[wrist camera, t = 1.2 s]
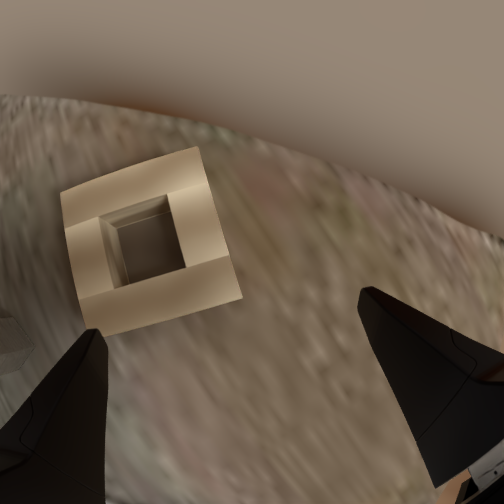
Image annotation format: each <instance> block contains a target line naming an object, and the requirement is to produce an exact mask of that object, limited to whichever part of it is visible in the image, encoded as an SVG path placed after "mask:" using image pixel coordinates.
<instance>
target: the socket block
mask: <svg viewBox="0 0 504 504" xmlns="http://www.w3.org/2000/svg"><path fill="white" fill-rule="evenodd" d="M60 197H61V206H62V214H63V222H64V229H65V235H66V242H67V248H68V253H69V259H70V264H71V269H72V274H73V278H74V283H75V287H76V292H77V296H78V300H79V304H80V308H81V311H82V315H83V319H84V322H85V326H86V329H91V328H97V329H99V330H100V332H101V334H102V336H103V337H106V336H110V335H114V334H118V333H122V332H126V331H129V330H133V329H137V328H141V327H144V326H148V325H152V324H155V323H159V322H162V321H166V320H170V319H173V318H177V317H180V316H184V315H187V314H191V313H194V312H198V311H201V310H204V309H208V308H211V307H214V306H218V305H221V304H224V303H228V302H231V301H234V300H238V299H241V298H242V294H241V291H240V288H239V285H238V282H237V278H236V275H235V272H234V268H233V265H232V262H231V259H230V255H229V252H228V249H227V245H226V242H225V239H224V235H223V232H222V229H221V225H220V222H219V219H218V215H217V212H216V208H215V205H214V202H213V198H212V195H211V191H210V188H209V184H208V181H207V177H206V174H205V170H204V167H203V163H202V160H201V156H200V153H199V149H198V146H196V147H193V148H189V149H185V150H182V151H178V152H175V153H171V154H168V155H165V156H161V157H158V158H155V159H151V160H148V161H145V162H142V163H139V164H136V165H133V166H130V167H127V168H124V169H121V170H118V171H115V172H112V173H110V174H107V175H104V176H101V177H99V178H96V179H93V180H91V181H88V182H86V183H83V184H80V185H78V186H75V187H73V188H71V189H68V190H66V191H63V192H61V193H60Z"/></svg>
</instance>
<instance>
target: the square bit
mask: <svg viewBox="0 0 504 504" xmlns="http://www.w3.org/2000/svg"><path fill="white" fill-rule="evenodd" d="M34 347H35V346H34V344H33V343H32V342H31V340H30V339H29V338H28V336H27V335H26V334H25V332H24V331H23V330H22V328H21V327H20V325H19V324H18V322H17V321H16V319H15V318H14V317H11V318H0V376H1V375H4V374H7V373H10V372H13V371H16V370H19V369H20V368H21V366H22V365H23V363H24V362H25V360H26V359H27V357H28V356H29V354H30V353H31V351H32V350H33V348H34Z"/></svg>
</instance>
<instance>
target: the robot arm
mask: <svg viewBox="0 0 504 504" xmlns="http://www.w3.org/2000/svg"><path fill="white" fill-rule="evenodd" d="M357 309H358V313H359V316H360V318H361V321H362V324H363V326H364V329H365V332H366V334H367V337H368V340H369V342H370V345H371V347H372V349H373V351H374V353H375V355H376V357H377V359H378V361H379V363H380V365H381V368H382V370H383V372H384V374H385V376H386V378H387V380H388V382H389V384H390V386H391V388H392V390H393V392H394V394H395V397H396V399H397V401H398V403H399V405H400V407H401V410H402V412H403V414H404V416H405V418H406V421H407V423H408V425H409V427H410V430H411V432H412V434H413V436H414V439H415V441H417V442H416V444H417V446H418V448H419V451H420V453H421V455H422V458H423V460H424V463H425V465H426V468H427V470H428V472H429V475H430V477H431V480H432V483H433V485H434V487H435V489H436V488H438V487H439V486H441V485H443V484H444V483H446V482H448V481H449V480H451V479H453V478H454V477H456V476H457V475H459V474H460V473H462V472H463V471H465V470H466V469H468V471H469V473H470V475H471V477H470V478H469V479H468V480H466V481H465V482H463V483H462V485H461V488H460V491H459V494H458V497H457V500H456V502H455V504H504V354H503V353H501V352H498V351H496V350H494V349H492V348H490V347H487V346H485V345H483V344H481V343H479V342H476V341H474V340H472V339H470V338H468V337H466V336H464V335H462V334H461V333H459V332H457V331H455V330H453V329H452V328H449V327H448V326H446V325H444V324H442V323H440V322H439V321H437V320H435V319H433V318H431V317H429V316H428V315H426V314H424V313H422V312H420V311H418V310H417V309H415V308H413V307H411V306H409V305H407V304H405V303H403V302H402V301H400V300H398V299H396V298H394V297H392V296H390V295H388V294H387V293H385V292H383V291H381V290H379V289H377V288H375V287H373V286H369V287H365V288H362V289H361V291H360V295H359V301H358V306H357ZM30 396H31V397H30ZM30 396H29V397H28V398H27V400H26V401H25V402H24V403H23V404H22V406H21V407H20V408H19V409H18V411H17V412H16V413H15V414H14V415H13V416H12V417H11V418H10V420H9V421H8V422H7V423H6V424H5V425H4V426H3V427H2V428H1V429H0V504H106V503H105V430H106V413H107V399H108V346H107V344H106V342H105V340H104V338H103V336H102V334H101V332H100V330H99V329H97V328H91V329H87V330H86V331H85V332H84V333H83V334H82V335H81V336H80V337H79V338H78V339H77V340H76V342H75V343H74V344H73V345H72V346H71V347H70V348H69V350H68V351H67V352H66V353H65V354H64V355H63V356H62V358H61V359H60V360H59V361H58V362H57V363H56V365H55V366H54V367H53V368H52V369H51V370H50V372H49V373H48V374H47V375H46V376H45V378H44V379H43V380H42V381H41V382H40V384H39V385H38V386H37V387H36V388H35V390H34V391H33V392H32V393H31V395H30Z"/></svg>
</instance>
